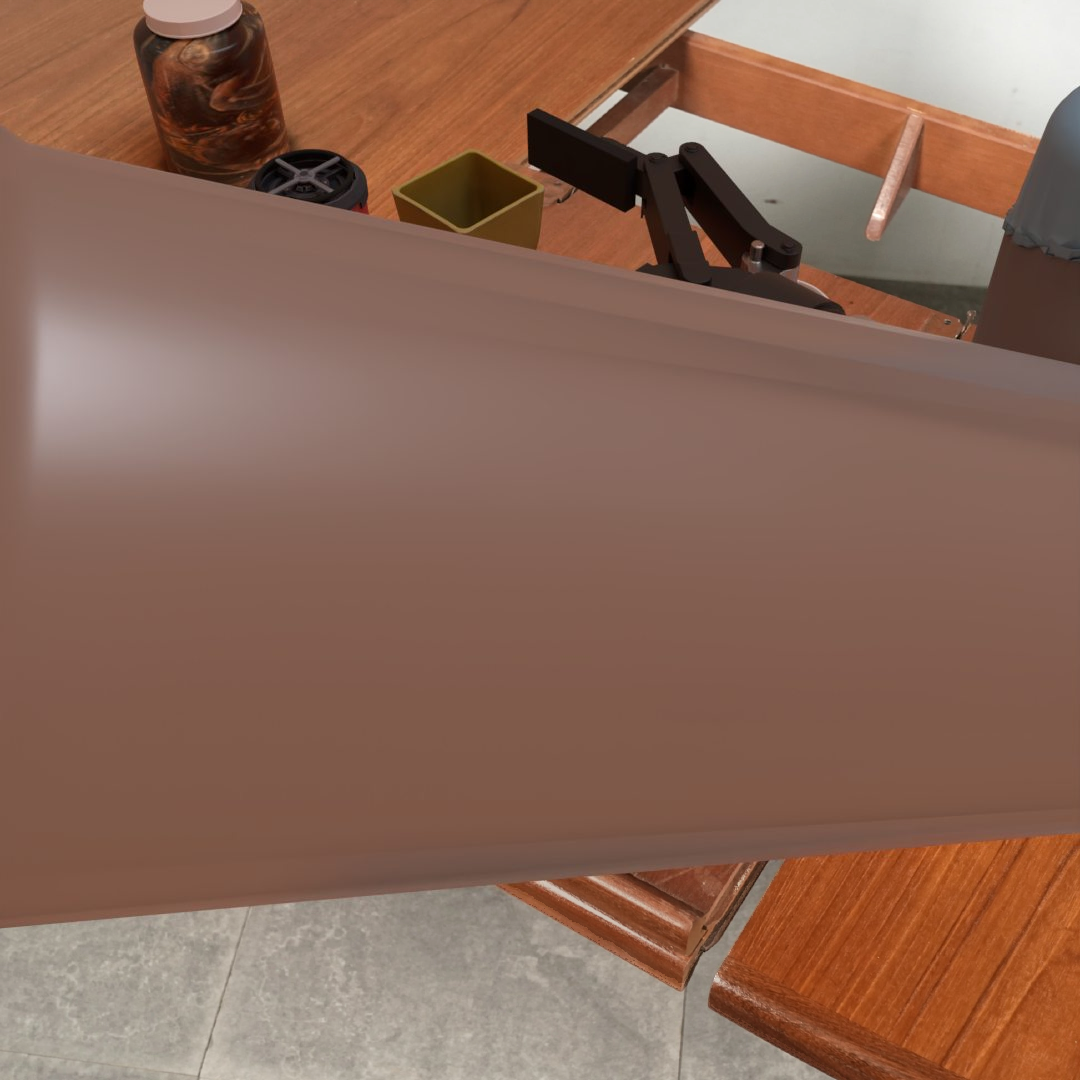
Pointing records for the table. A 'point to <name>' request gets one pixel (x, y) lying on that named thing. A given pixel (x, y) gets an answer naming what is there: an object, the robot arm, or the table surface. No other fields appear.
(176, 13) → the jar
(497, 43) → the table surface
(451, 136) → the table surface
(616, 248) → the table surface
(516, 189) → the flower pot
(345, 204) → the speaker
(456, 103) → the table surface
